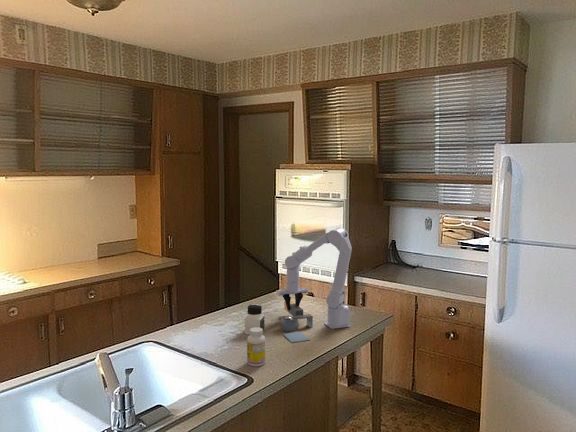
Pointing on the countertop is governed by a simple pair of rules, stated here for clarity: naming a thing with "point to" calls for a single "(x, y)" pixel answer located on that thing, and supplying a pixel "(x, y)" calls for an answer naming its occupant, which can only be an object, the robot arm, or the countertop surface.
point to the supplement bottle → (256, 347)
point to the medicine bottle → (254, 318)
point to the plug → (293, 309)
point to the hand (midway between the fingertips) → (292, 309)
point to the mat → (296, 337)
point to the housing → (295, 322)
